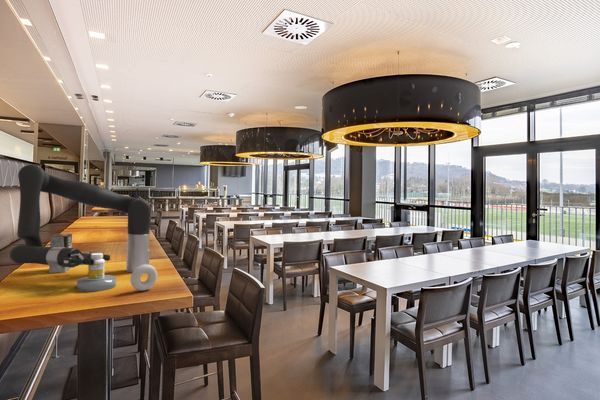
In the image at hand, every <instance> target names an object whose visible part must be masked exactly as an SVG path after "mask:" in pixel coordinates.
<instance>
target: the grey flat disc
mask: <svg viewBox="0 0 600 400" xmlns="http://www.w3.org/2000/svg"><path fill="white" fill-rule="evenodd" d="M116 286H117V276H115V275H111V274H104V279H102V280H95V281H91V280H88V275H87V276H84V277H79V278H77V279H76V290H77V291H78V292H87V293H88V292H91V293H96V292H102V291H107V290H111V289H114V288H115V287H116Z"/></svg>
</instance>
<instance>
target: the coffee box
mask: <svg viewBox="0 0 600 400" xmlns="http://www.w3.org/2000/svg"><path fill="white" fill-rule="evenodd" d="M49 239H50V240H49V247H68V248H73V246H72V243H73V233H55V234H52V235H50V236H49ZM48 266H49V270H48V272H49V274H53V273H55V274H58V273H67V272H68V271H69V270H71V268H70V267H58V266H53V265H48Z"/></svg>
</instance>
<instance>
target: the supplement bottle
mask: <svg viewBox="0 0 600 400" xmlns="http://www.w3.org/2000/svg"><path fill="white" fill-rule="evenodd" d="M103 253H104V252H98V253H93V254H91V258H92V259H94V260H95V262H94V265H87V266H88V267H87V269H88V271H87V273H88V274H87V276H88V280H91V281H95V280H102V279H104V275H105V267H106V265H105V264H106V261H105V260H104V259H102V258H103Z"/></svg>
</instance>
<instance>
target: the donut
mask: <svg viewBox="0 0 600 400" xmlns="http://www.w3.org/2000/svg"><path fill="white" fill-rule="evenodd" d="M145 274H146V275H147V279H146V280H145V281H142V280H141V277H142V276H143V275H145ZM129 280H130V285H131V286H132V288H133V289H135V291H142V292H144V291H147V290H149V289H151V288H153V286H154V285H155V284H156V282H157V280H158V271H157V269H156V268H155V267H154V266H153V265H151V264H149V265H148V264H144V265H140V266H139V267H137V268H136V269H135V270H134V271H133V272H131V274H130V279H129Z"/></svg>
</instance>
